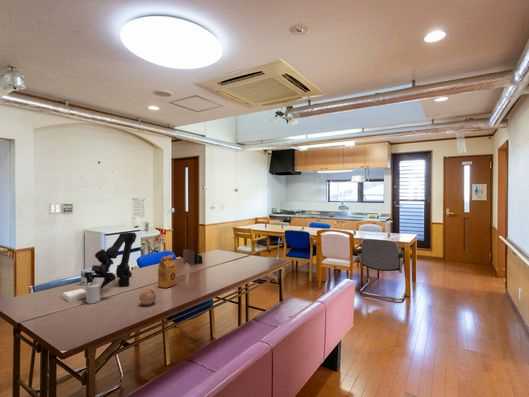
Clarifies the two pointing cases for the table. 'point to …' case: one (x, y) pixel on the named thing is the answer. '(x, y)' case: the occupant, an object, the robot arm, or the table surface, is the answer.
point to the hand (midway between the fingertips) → (93, 288)
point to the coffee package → (167, 272)
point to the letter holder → (191, 257)
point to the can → (93, 292)
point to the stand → (74, 295)
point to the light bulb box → (84, 280)
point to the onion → (147, 297)
